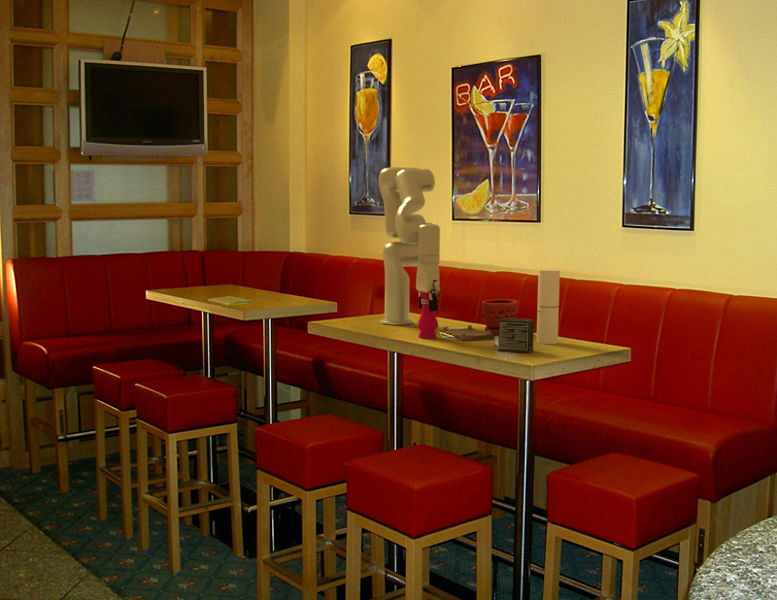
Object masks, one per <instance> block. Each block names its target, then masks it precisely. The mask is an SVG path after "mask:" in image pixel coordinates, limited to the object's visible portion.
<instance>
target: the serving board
mask: <svg viewBox="0 0 777 600" xmlns="http://www.w3.org/2000/svg"><path fill="white" fill-rule="evenodd" d="M440 332H443V333H446V334H449V335H452V336H454V337H455V339H454V340H456V341H461V342H467V341H468V342H469V341H471V342H472V341H485V340H494V339H496V335H495V334H491V331H487V332H486V331H484V330H480V329H476V328H473V325H471V324H469V325H468V326H467V327H466V328H449V329H448V326H443V329H439V333H440Z"/></svg>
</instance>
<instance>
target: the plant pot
mask: <svg viewBox="0 0 777 600" xmlns="http://www.w3.org/2000/svg"><path fill="white" fill-rule="evenodd" d="M481 312H482V313H481V314H482V318H483V322H484V324H485V327H484V332H487V331H491V334H494V335H495V336H499V319H502V318H516V319H518V315H519V302H518V300H515V299H501V298H500V299H487V300H482V302H481ZM502 313H503V314H502Z"/></svg>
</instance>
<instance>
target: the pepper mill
mask: <svg viewBox="0 0 777 600" xmlns="http://www.w3.org/2000/svg"><path fill="white" fill-rule="evenodd" d="M431 291H434V290H431ZM432 295H433V294H432ZM420 296H421V297H422V299H421V303H422V309H421V313H420V316H419V317H418V321H417V328H418V330H419V332H418V338H420V339H426V340H427V339H428V340H429V339H436V338H437V336H438V335H437V332H436V331H437V329H438V328H439V323H438V319H437V316H436V315H435V311H429V300H430V297H429V292H428V293H425V292H423V291H421V290H420Z"/></svg>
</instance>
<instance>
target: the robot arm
mask: <svg viewBox="0 0 777 600" xmlns="http://www.w3.org/2000/svg"><path fill="white" fill-rule="evenodd" d="M435 179H436V178H435V175H434V174H433V172H432V171H431V169H429V168H425V167H424V168H423V167H402V166H399V167H398V166H395V167H392V166H391V167H386V168H383V169H381V171H380V172H379V176H378V187H379V193H380V195H381V198H382V200H383V201H382V202H383V210H384V224H385V233H386V236H388V237H389V238H390V239H398V240H399V241H391V242H388V243H386V244H385V245H384V246H383V248H382V257H383V265H384V266H383V267H384V318H382V319H380V324H383V325H391V326H403V325H404V326H405V325H406V326H407V325H412V324H413V323H414V320H413V319H412V318H410V287H411V285H410V284H411V283H410V281H411V280H410V276H409V274H408V272H407V271H406V270H405V268H406V267H417V269H416V276H415V277H416V278H415V281H416V282H415V289H416V290H417V292H418V293H417V294H418V295H417V296H418V309H421V310H422V303H421V299H422V297H421V296H420V290H421V291H423V292H425V293H428V292H429V297H430V300H429V311H434V312H438V307H439V304H438V303H439V296H440V293H441V288H440V267H439V265H440V261H441V259H440V250H441V249H440V247H441V246H440V245H441V227H440V226H439V225H438V224H436V223H435V224H434V223H432V222H427V221H426V219H425V217H424V216H423V215H422V214H419V213H416V212H419V211H420V210H421V209H423V207H424V206H425V205H426V203H425V202H426V200H425V196H424V193H425V192H428V193H429V192H431V191H433V190H434V188H435V185H436V182H435V181H436V180H435ZM423 192H424V193H423ZM404 267H405V268H404ZM431 290H434V291H431ZM432 294H433V295H432Z"/></svg>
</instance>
